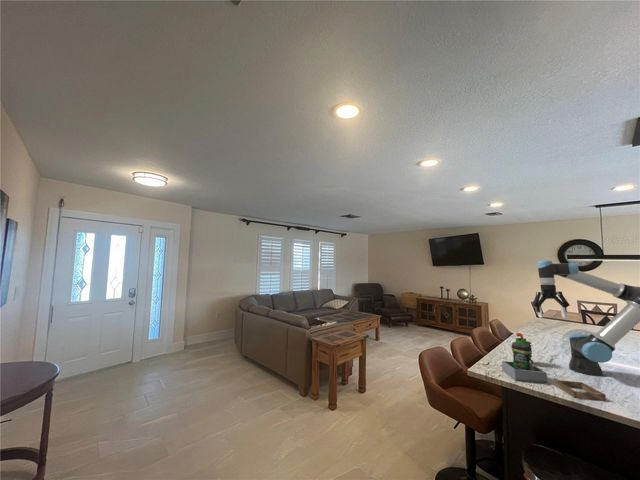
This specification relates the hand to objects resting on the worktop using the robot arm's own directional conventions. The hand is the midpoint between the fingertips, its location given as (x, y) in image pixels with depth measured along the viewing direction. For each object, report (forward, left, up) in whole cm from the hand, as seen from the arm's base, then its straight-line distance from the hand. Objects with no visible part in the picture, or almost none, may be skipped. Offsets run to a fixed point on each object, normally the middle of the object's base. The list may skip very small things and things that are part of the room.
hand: (552, 317), depth 165 cm
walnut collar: (+8, +30, -34) cm, 46 cm away
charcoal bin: (+25, +13, -34) cm, 44 cm away
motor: (+10, -16, -34) cm, 39 cm away
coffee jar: (+25, +13, -33) cm, 44 cm away
